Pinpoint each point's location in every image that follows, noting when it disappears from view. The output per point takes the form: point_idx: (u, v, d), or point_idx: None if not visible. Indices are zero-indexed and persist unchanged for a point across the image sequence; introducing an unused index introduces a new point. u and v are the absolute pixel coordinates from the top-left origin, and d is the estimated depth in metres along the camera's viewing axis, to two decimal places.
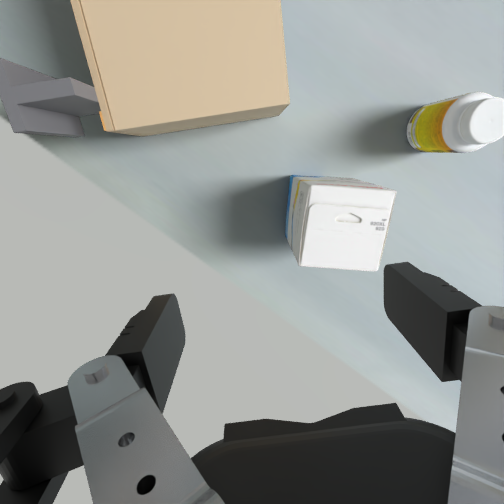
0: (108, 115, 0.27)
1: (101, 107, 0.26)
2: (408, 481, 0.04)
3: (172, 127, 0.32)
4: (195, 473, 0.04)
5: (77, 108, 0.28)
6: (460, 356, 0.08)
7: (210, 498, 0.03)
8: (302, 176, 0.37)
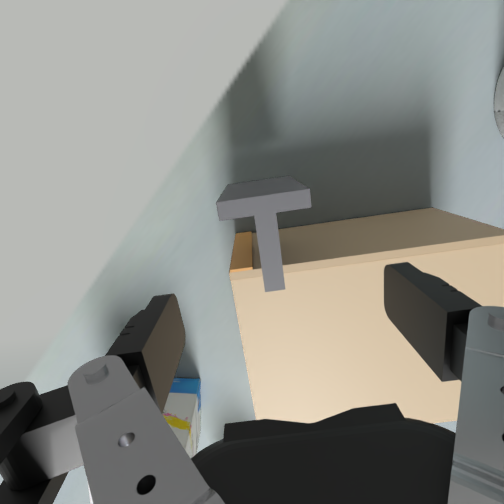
0: (247, 277, 0.21)
1: (256, 270, 0.21)
2: (408, 481, 0.04)
3: None
4: (195, 473, 0.04)
5: None
6: (460, 356, 0.08)
7: (210, 498, 0.03)
8: (198, 399, 0.35)
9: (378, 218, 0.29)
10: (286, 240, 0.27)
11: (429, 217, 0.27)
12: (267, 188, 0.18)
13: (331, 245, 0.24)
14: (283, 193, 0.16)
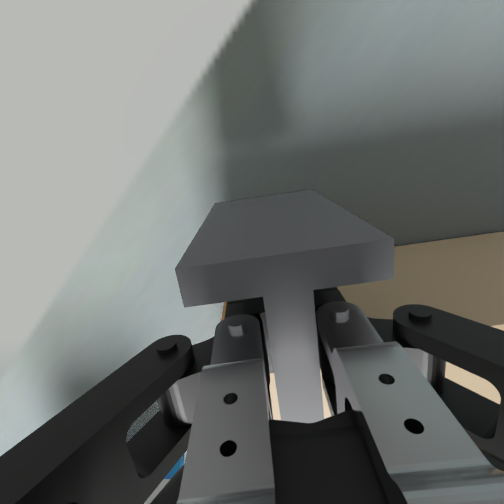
0: None
1: None
2: None
3: None
4: (269, 466, 0.04)
5: None
6: None
7: (267, 502, 0.03)
8: None
9: (436, 247, 0.20)
10: None
11: None
12: (286, 223, 0.09)
13: (382, 302, 0.15)
14: (331, 248, 0.07)
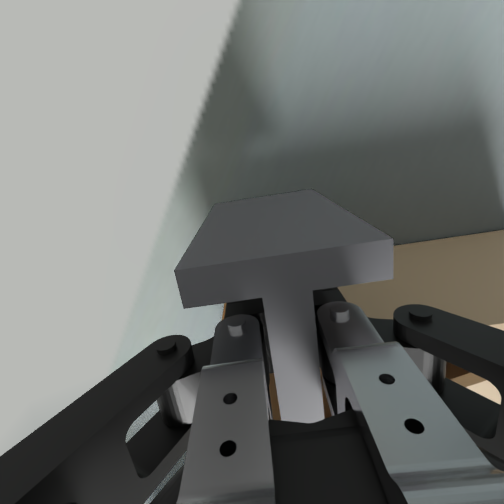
0: None
1: None
2: None
3: None
4: (269, 466, 0.04)
5: None
6: None
7: (267, 502, 0.03)
8: None
9: (436, 246, 0.20)
10: None
11: None
12: (285, 223, 0.09)
13: (382, 302, 0.15)
14: (330, 249, 0.07)
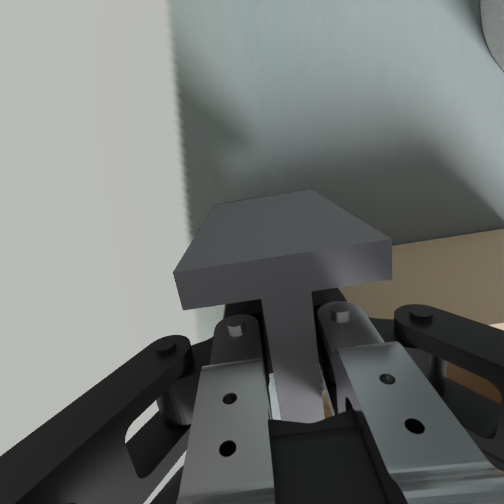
0: None
1: None
2: None
3: None
4: (269, 466, 0.04)
5: None
6: (318, 345, 0.09)
7: (267, 502, 0.03)
8: None
9: (437, 245, 0.20)
10: None
11: None
12: (284, 224, 0.09)
13: (383, 301, 0.15)
14: (329, 250, 0.07)
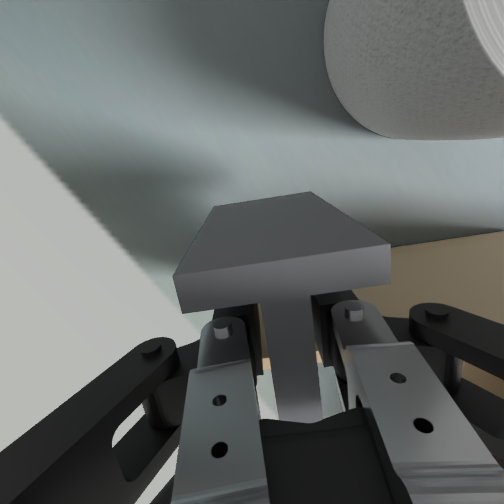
0: None
1: None
2: None
3: None
4: (261, 464, 0.04)
5: None
6: (330, 344, 0.09)
7: (261, 499, 0.03)
8: None
9: (435, 248, 0.20)
10: None
11: None
12: (284, 227, 0.09)
13: (381, 304, 0.15)
14: (328, 254, 0.07)
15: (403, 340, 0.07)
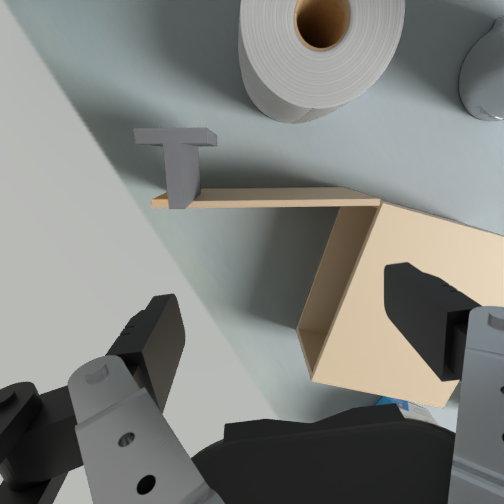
0: (166, 207, 0.26)
1: None
2: (408, 481, 0.04)
3: None
4: (195, 473, 0.04)
5: None
6: (460, 356, 0.08)
7: (210, 498, 0.03)
8: (398, 405, 0.44)
9: (296, 188, 0.35)
10: (213, 192, 0.31)
11: (333, 190, 0.33)
12: None
13: (243, 196, 0.29)
14: (186, 128, 0.21)
15: None
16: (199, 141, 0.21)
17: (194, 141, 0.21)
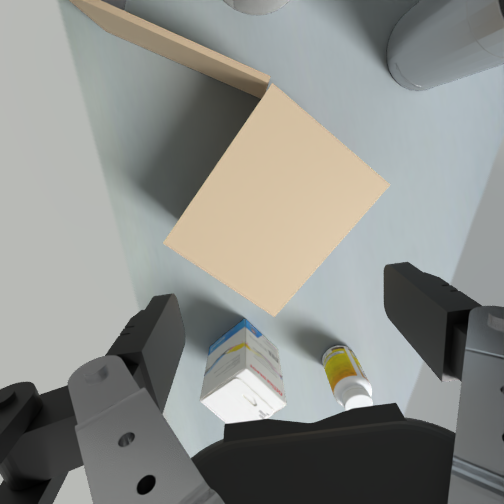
0: None
1: None
2: (408, 481, 0.04)
3: None
4: (195, 473, 0.04)
5: None
6: (460, 356, 0.08)
7: (210, 498, 0.03)
8: (250, 329, 0.47)
9: None
10: None
11: None
12: None
13: None
14: None
15: None
16: None
17: None
